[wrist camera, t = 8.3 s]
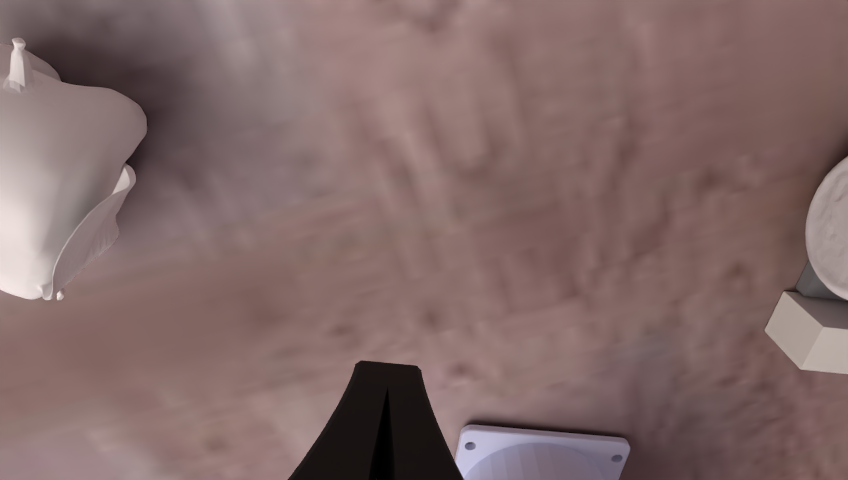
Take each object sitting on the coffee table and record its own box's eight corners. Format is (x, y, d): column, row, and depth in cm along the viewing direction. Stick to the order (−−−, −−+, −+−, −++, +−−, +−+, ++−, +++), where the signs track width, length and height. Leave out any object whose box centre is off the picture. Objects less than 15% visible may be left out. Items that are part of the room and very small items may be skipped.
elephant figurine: (-60, 217, 21) (-268, 328, 15) (-28, -36, 17) (-290, -34, 11) (142, 293, 23) (33, 424, 16) (213, 77, 19) (107, 137, 12)
